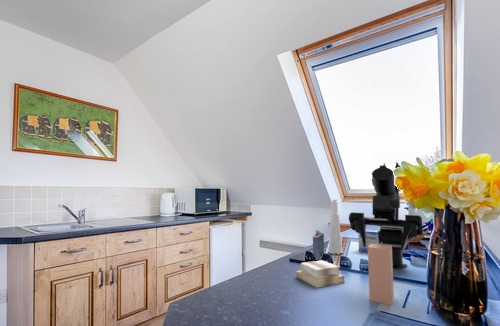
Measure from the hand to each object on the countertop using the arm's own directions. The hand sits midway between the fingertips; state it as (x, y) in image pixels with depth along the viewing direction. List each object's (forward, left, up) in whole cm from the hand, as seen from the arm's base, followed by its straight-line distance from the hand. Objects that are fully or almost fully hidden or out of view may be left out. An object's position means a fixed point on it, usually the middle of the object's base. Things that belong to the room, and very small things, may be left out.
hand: (382, 248), depth 77 cm
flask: (-11, -35, -12) cm, 38 cm away
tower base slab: (+7, -17, -12) cm, 22 cm away
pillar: (+5, +2, -11) cm, 13 cm away
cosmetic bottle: (-23, -37, -12) cm, 45 cm away
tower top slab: (+6, -17, -10) cm, 20 cm away
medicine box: (-37, -31, -12) cm, 50 cm away
